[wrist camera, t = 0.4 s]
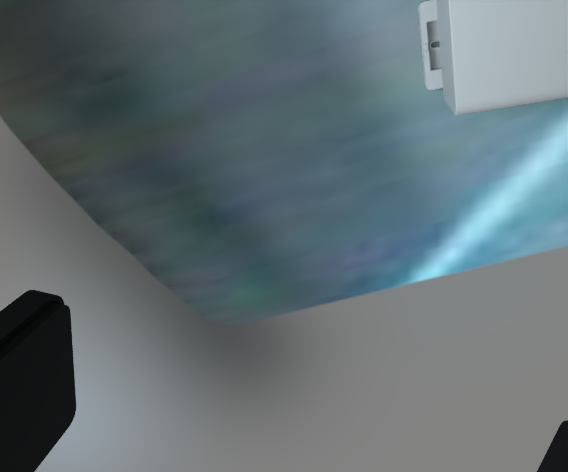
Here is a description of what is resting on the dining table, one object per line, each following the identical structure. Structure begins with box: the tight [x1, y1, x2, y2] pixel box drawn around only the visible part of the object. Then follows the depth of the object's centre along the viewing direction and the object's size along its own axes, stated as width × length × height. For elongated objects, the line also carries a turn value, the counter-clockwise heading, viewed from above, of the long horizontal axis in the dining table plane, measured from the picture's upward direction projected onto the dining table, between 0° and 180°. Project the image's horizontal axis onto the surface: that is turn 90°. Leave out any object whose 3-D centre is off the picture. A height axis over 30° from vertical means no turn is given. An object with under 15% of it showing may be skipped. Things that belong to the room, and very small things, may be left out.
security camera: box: [418, 0, 568, 116], centre depth 28 cm, size 6×7×10 cm
